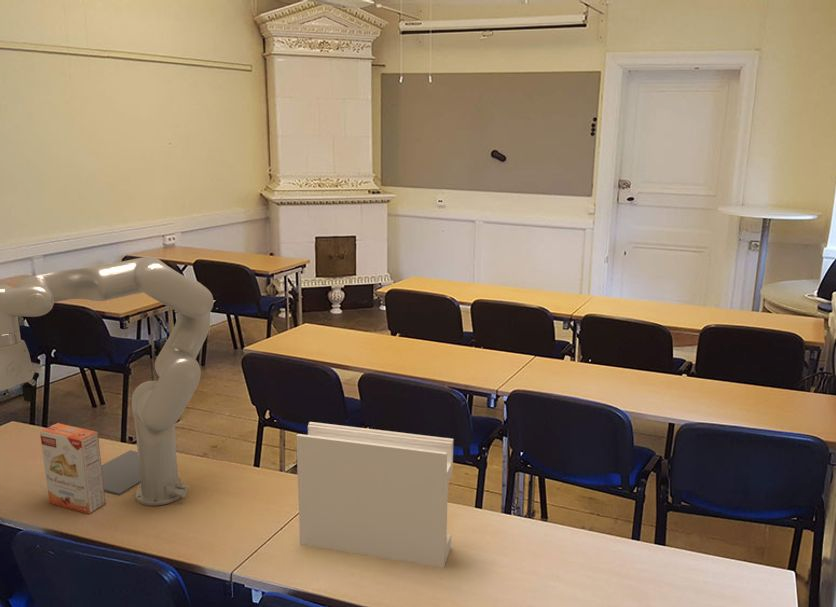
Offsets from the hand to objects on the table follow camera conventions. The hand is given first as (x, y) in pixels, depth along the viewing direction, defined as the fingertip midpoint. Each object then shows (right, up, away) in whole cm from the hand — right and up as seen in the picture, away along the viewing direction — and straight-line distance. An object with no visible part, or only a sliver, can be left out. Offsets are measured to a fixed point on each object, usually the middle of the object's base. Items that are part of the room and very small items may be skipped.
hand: (11, 408), depth 170 cm
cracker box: (+7, -28, +18) cm, 34 cm away
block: (+86, -33, +1) cm, 92 cm away
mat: (+12, -23, +36) cm, 44 cm away
